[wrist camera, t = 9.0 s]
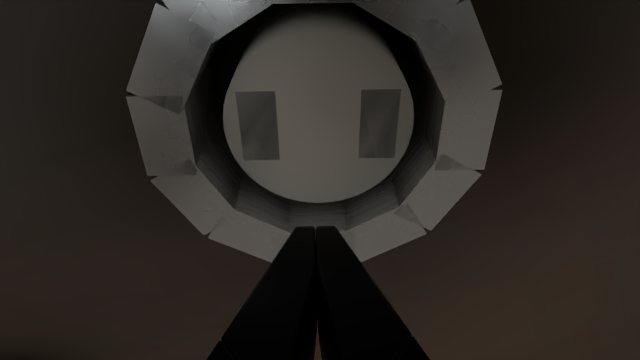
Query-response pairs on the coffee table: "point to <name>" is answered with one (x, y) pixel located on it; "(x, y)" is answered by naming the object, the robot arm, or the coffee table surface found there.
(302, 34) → the white short cylinder
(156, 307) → the coffee table surface
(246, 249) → the grey segmented ring
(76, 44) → the coffee table surface
